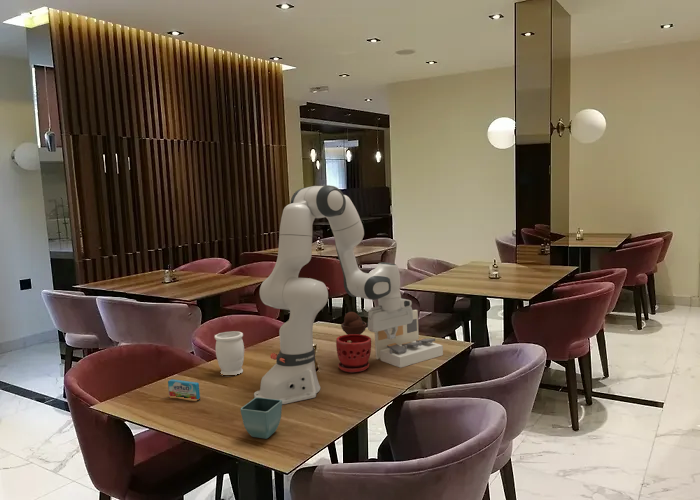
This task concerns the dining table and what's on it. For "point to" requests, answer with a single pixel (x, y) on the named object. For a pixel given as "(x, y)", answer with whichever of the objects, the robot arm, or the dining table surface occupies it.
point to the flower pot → (261, 416)
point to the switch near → (396, 348)
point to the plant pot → (353, 352)
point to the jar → (230, 352)
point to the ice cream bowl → (353, 324)
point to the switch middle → (411, 344)
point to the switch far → (425, 340)
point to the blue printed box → (184, 389)
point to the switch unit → (405, 346)
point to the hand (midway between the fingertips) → (391, 338)
